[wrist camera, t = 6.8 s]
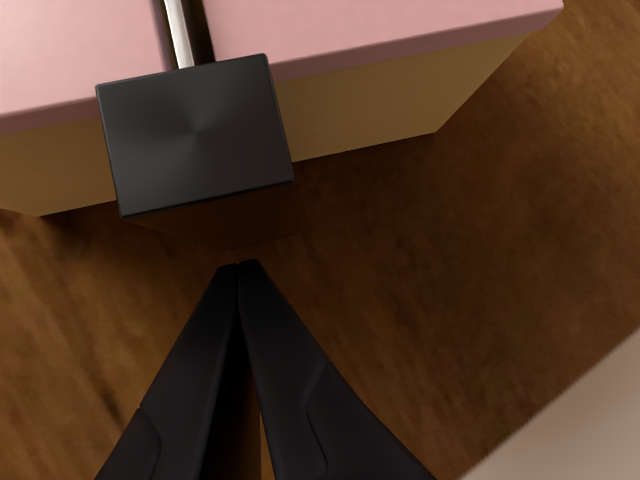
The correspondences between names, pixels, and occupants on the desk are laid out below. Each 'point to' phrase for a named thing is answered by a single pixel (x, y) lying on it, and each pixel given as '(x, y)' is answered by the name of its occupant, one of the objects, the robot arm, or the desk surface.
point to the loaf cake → (232, 42)
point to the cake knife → (200, 144)
